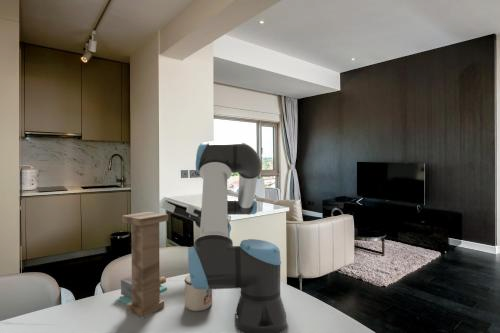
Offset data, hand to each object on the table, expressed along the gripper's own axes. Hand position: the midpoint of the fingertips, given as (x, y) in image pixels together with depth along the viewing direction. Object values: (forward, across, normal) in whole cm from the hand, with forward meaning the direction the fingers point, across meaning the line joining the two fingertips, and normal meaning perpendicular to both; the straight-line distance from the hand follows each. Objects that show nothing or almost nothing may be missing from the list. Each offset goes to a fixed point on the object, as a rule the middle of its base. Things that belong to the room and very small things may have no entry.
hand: (174, 206), depth 116 cm
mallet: (-2, +1, -31) cm, 31 cm away
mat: (0, 0, -33) cm, 33 cm away
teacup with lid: (-6, -20, -30) cm, 37 cm away
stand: (+5, -9, -35) cm, 37 cm away
